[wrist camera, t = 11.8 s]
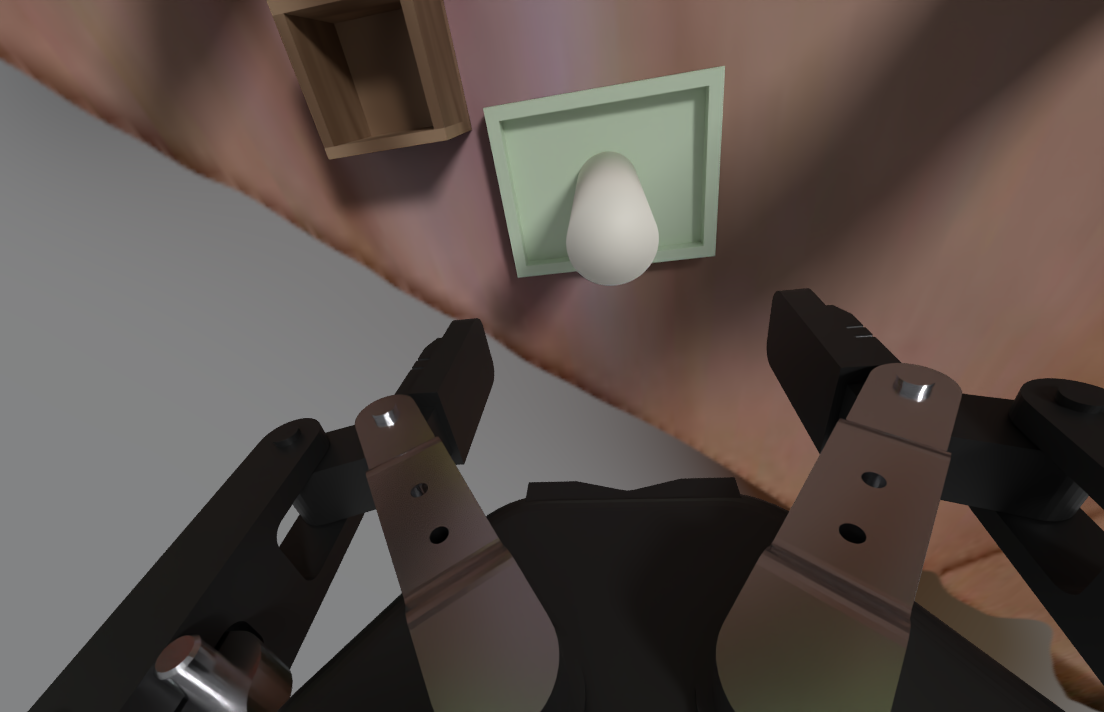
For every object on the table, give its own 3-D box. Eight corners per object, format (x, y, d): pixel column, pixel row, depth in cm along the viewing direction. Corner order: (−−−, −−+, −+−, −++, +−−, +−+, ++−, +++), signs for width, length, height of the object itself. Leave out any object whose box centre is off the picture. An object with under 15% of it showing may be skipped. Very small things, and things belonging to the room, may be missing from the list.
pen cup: (440, -12, 24) (404, -32, 20) (472, 129, 28) (447, 140, 24) (325, 14, 26) (266, 0, 21) (370, 146, 29) (328, 159, 25)
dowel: (635, 146, 27) (657, 189, 17) (638, 210, 30) (659, 281, 20) (573, 156, 28) (560, 202, 18) (580, 218, 30) (572, 289, 20)
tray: (718, 66, 25) (725, 66, 24) (710, 248, 31) (715, 255, 30) (488, 106, 27) (483, 108, 26) (521, 269, 33) (517, 277, 32)
